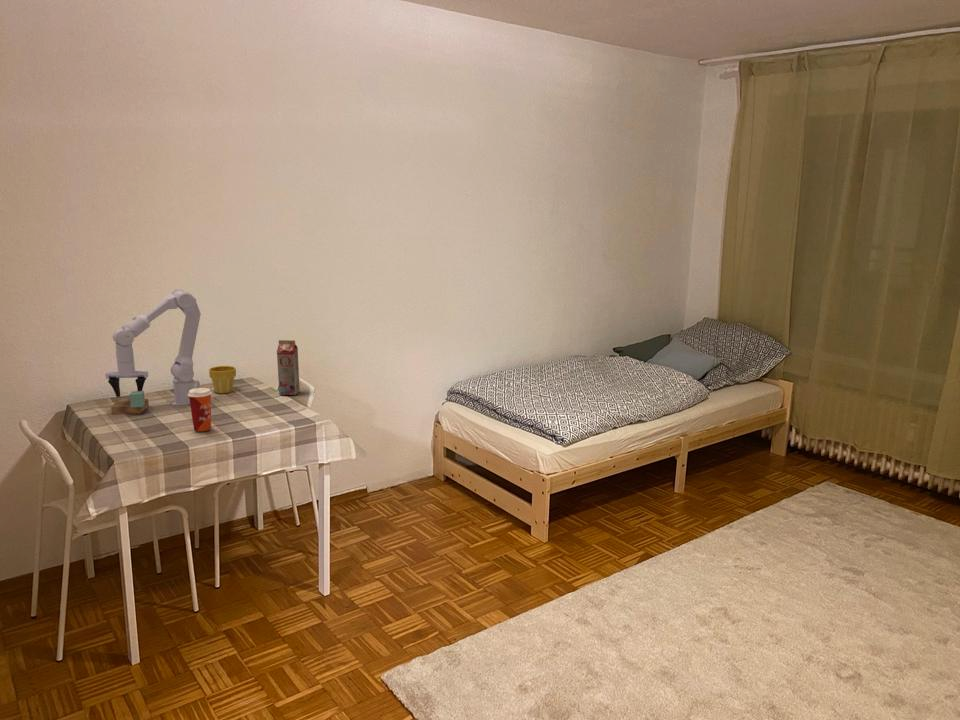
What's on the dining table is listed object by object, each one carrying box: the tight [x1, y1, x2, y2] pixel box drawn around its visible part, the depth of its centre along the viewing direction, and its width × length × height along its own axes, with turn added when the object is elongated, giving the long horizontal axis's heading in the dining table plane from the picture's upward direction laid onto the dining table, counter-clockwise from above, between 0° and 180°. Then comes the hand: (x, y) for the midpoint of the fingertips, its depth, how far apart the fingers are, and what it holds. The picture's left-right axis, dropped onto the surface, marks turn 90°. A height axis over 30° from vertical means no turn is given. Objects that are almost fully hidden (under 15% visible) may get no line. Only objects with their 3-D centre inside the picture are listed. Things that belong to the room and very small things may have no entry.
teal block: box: [129, 390, 146, 407], centre depth 268 cm, size 4×4×5 cm
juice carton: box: [276, 339, 301, 396], centre depth 297 cm, size 7×7×22 cm
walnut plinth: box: [110, 398, 149, 415], centre depth 273 cm, size 10×10×3 cm
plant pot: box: [208, 365, 237, 394], centre depth 299 cm, size 10×10×10 cm
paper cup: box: [188, 387, 212, 432], centre depth 252 cm, size 8×8×14 cm
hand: (129, 396), depth 272 cm, fingers open, 7 cm apart
